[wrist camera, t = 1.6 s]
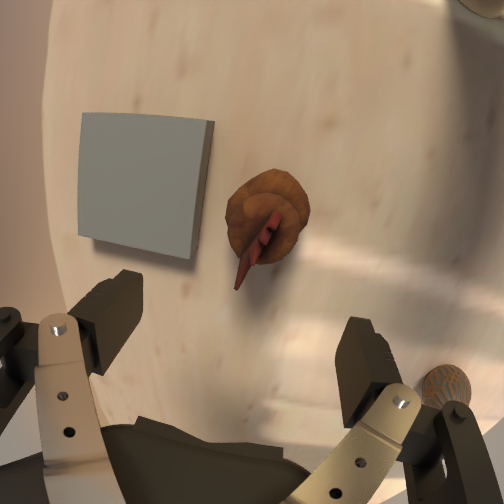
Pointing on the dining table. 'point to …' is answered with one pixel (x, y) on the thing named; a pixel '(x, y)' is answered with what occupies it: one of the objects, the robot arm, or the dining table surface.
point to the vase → (446, 386)
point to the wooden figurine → (265, 219)
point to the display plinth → (143, 180)
